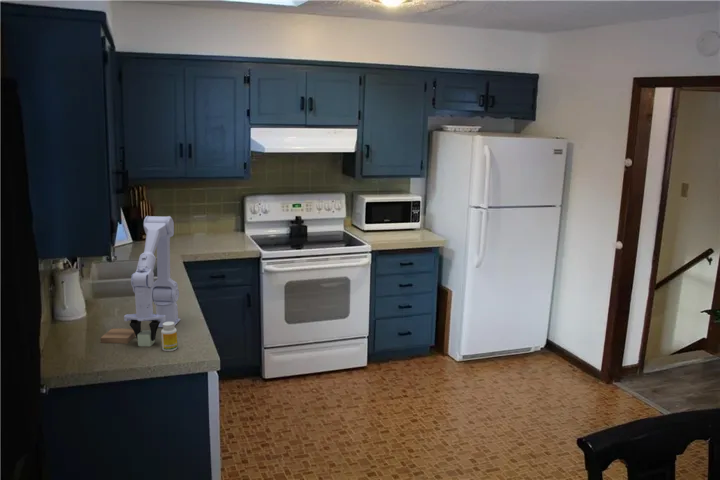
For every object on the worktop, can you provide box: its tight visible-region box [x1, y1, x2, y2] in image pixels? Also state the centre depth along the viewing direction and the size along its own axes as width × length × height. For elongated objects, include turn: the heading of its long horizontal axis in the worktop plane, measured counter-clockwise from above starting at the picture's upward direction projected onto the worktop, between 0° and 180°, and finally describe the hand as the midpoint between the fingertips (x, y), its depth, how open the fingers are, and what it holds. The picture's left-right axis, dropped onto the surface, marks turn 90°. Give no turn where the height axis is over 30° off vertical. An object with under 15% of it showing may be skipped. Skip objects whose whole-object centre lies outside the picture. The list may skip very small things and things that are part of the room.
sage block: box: [137, 329, 156, 347], centre depth 227 cm, size 4×4×4 cm
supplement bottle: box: [160, 322, 179, 352], centre depth 222 cm, size 5×5×10 cm
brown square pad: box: [100, 327, 136, 345], centre depth 233 cm, size 10×10×2 cm
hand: (146, 339), depth 227 cm, fingers open, 5 cm apart
